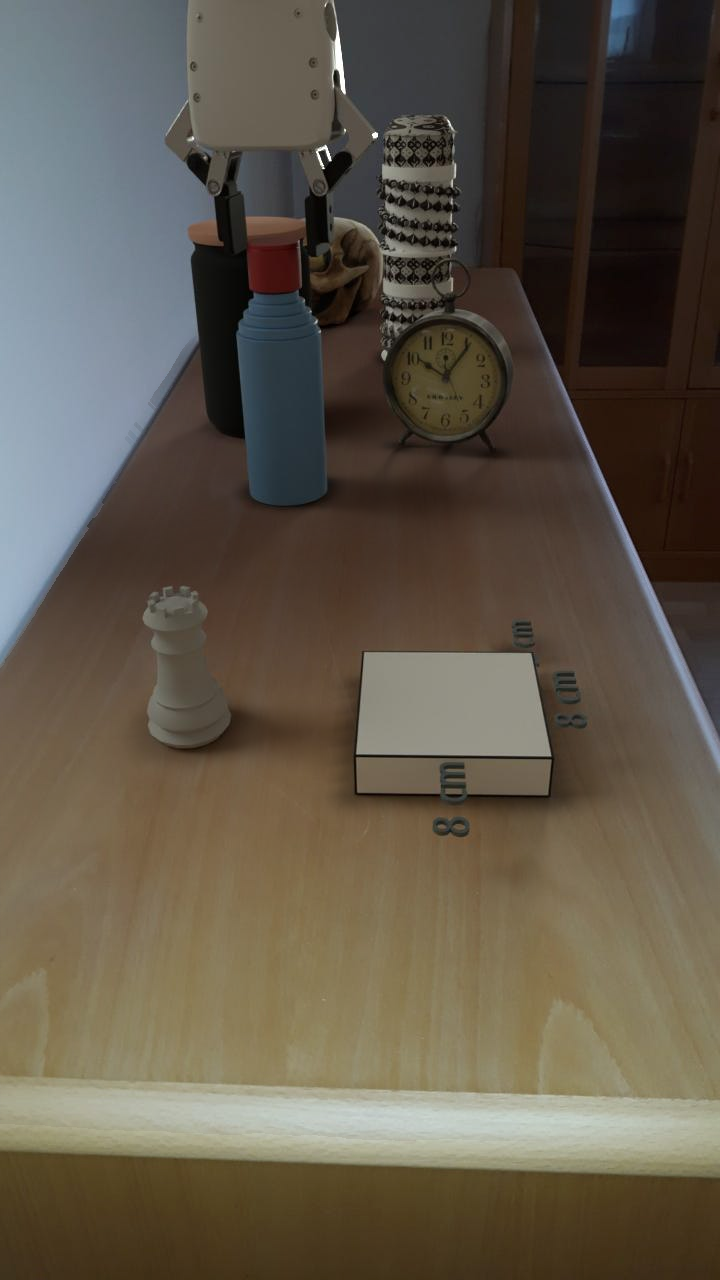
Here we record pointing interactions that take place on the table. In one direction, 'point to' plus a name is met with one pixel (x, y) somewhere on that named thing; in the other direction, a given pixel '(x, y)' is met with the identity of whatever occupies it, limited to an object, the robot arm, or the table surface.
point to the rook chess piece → (183, 673)
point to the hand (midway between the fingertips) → (276, 250)
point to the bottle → (282, 399)
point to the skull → (345, 272)
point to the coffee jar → (230, 310)
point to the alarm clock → (448, 373)
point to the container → (456, 725)
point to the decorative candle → (416, 219)
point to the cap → (274, 264)
